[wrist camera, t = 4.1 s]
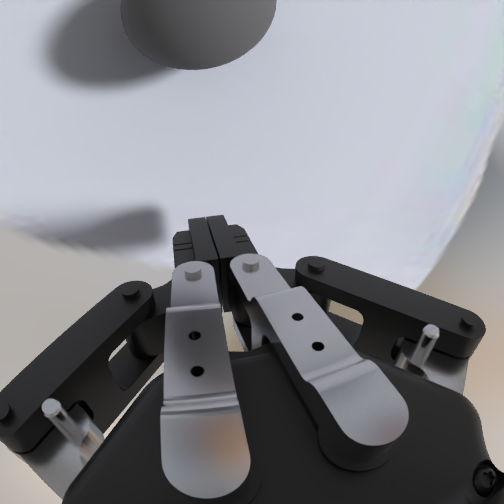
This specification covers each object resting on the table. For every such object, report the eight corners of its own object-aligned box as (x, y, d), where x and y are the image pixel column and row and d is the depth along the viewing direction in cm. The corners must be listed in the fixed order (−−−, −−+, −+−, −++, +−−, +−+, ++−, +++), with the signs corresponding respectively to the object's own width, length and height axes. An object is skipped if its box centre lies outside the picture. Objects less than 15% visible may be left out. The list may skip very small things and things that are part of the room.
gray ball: (132, -24, 8) (117, -78, 3) (253, -28, 9) (299, -77, 5) (131, 81, 11) (106, 73, 6) (253, 72, 12) (302, 64, 8)
